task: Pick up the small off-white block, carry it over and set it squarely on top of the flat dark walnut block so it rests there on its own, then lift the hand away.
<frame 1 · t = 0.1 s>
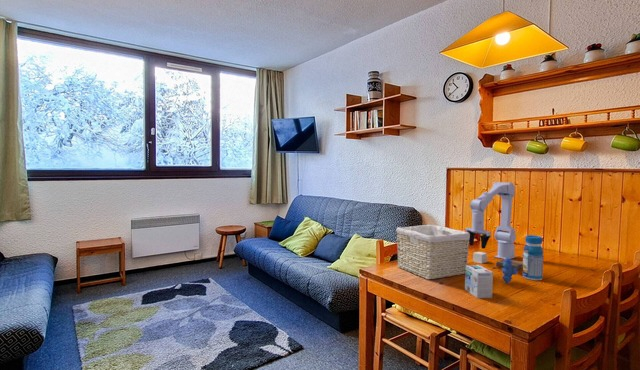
hand: (477, 246, 189), 10 cm above the table, tool pointing down, fingers open, 7 cm apart
basket: (431, 271, 181), on the table
off-white block: (479, 261, 196), on the table
light bulb box: (478, 293, 149), on the table
grapes: (509, 283, 161), on the table
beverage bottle: (532, 278, 169), on the table
walnut block: (510, 268, 186), on the table
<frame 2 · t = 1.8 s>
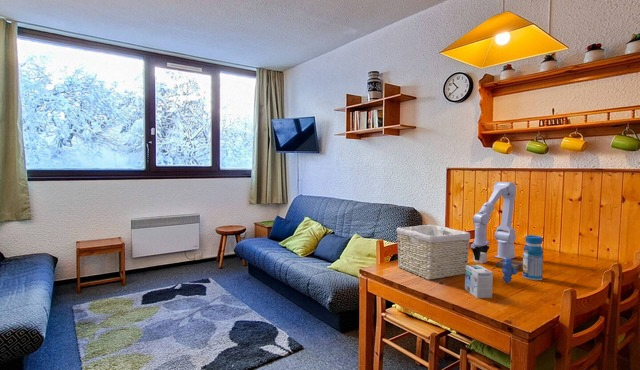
hand: (479, 259, 196), 1 cm above the table, tool pointing down, fingers closed on off-white block, 5 cm apart
off-white block: (479, 261, 196), on the table, touching gripper
everything else where it was.
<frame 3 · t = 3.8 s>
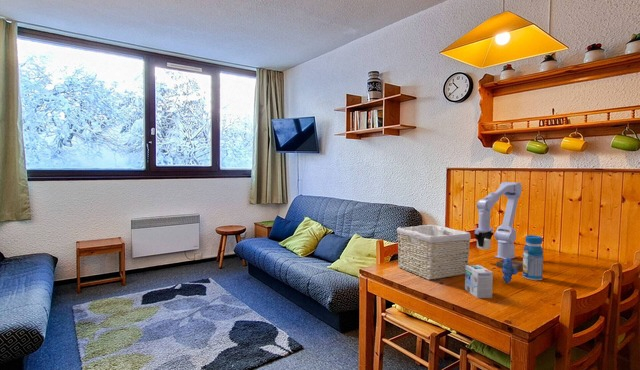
hand: (483, 245, 195), 9 cm above the table, tool pointing down, fingers closed on off-white block, 5 cm apart
off-white block: (483, 248, 195), point 8 cm above the table, touching gripper
everything else where it was.
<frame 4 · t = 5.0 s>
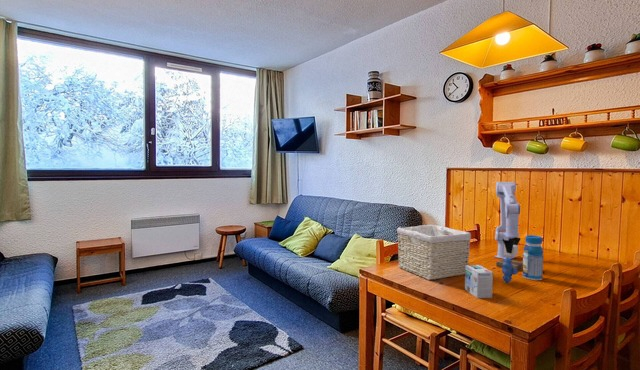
hand: (511, 251, 186), 8 cm above the table, tool pointing down, fingers closed on off-white block, 5 cm apart
off-white block: (510, 254, 186), point 7 cm above the table, touching gripper
everything else where it was.
when the fingers open (5 cm above the table, at t = 6.1 s): off-white block drops 1 cm, resting on walnut block.
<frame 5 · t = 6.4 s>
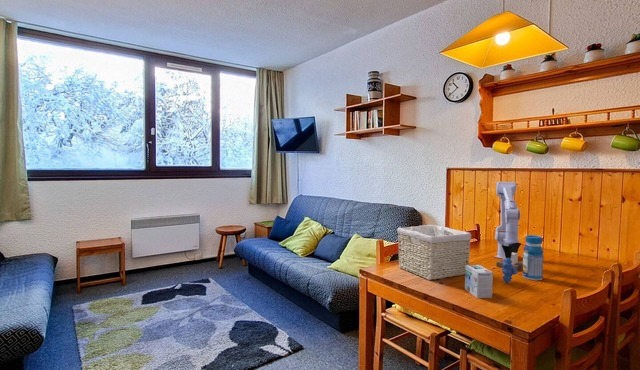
hand: (511, 257, 186), 5 cm above the table, tool pointing down, fingers open, 7 cm apart
off-white block: (510, 262, 186), point 2 cm above the table, touching walnut block
walnut block: (510, 268, 186), on the table, touching off-white block
everything else where it was.
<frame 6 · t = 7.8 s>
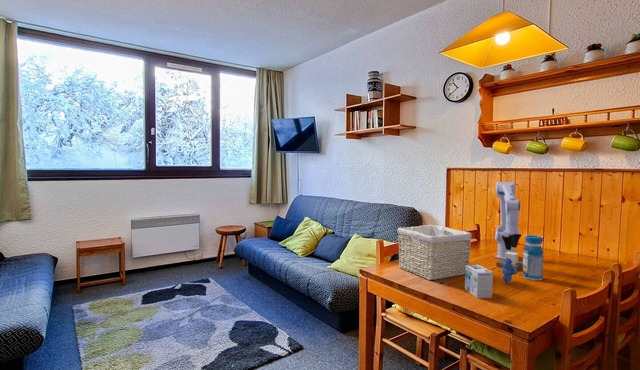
hand: (511, 248, 185), 10 cm above the table, tool pointing down, fingers open, 7 cm apart
nothing on the table moved.
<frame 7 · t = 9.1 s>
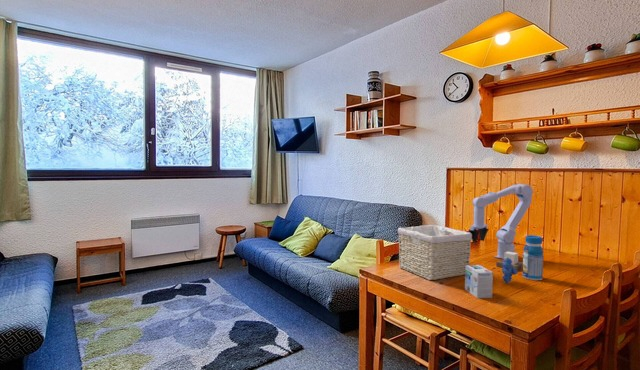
hand: (478, 241, 205), 9 cm above the table, tool pointing down, fingers open, 7 cm apart
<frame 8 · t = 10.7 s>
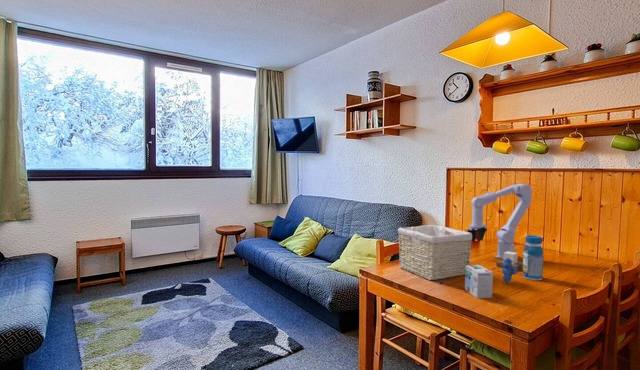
hand: (476, 241, 206), 9 cm above the table, tool pointing down, fingers open, 7 cm apart
at the end: off-white block 0.4 cm off-centre on the walnut block, point 3.0 cm above the walnut block's base; off-white block tilted 0°; the gripper is holding nothing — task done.
